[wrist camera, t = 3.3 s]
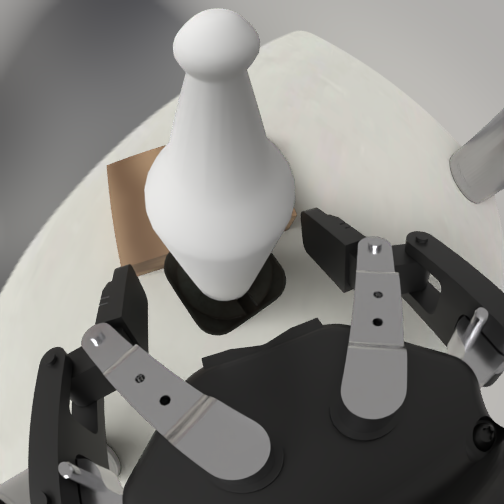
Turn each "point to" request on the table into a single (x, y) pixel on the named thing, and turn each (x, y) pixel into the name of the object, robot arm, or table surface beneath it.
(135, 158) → the socket block
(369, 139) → the table surface
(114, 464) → the travel mug
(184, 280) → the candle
